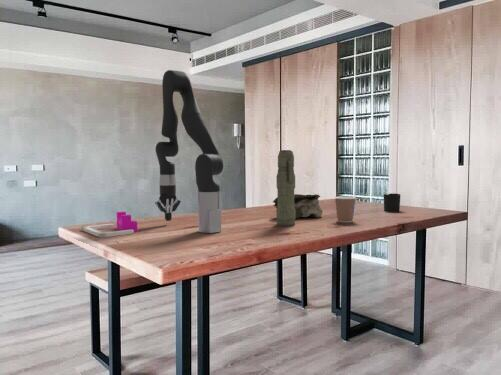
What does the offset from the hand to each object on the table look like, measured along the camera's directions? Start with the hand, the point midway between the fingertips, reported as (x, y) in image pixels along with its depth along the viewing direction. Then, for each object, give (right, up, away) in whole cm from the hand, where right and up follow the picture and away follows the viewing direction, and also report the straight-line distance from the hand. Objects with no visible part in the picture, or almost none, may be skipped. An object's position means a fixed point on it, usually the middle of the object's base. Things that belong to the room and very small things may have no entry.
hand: (168, 220), depth 199 cm
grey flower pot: (+86, -1, +8) cm, 86 cm away
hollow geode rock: (+64, 0, +24) cm, 68 cm away
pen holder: (+122, +2, +49) cm, 132 cm away
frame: (-22, -3, -18) cm, 28 cm away
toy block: (-16, -3, -13) cm, 21 cm away
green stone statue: (+56, -2, -1) cm, 56 cm away
